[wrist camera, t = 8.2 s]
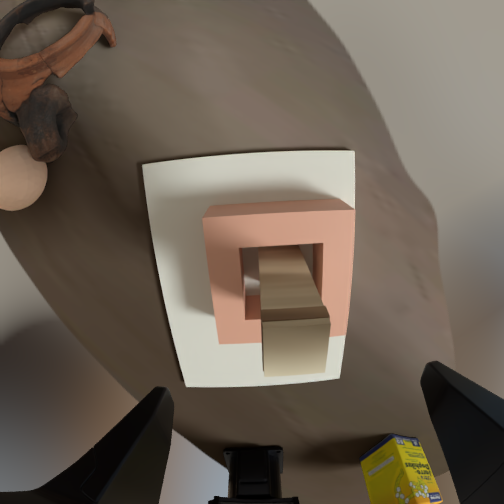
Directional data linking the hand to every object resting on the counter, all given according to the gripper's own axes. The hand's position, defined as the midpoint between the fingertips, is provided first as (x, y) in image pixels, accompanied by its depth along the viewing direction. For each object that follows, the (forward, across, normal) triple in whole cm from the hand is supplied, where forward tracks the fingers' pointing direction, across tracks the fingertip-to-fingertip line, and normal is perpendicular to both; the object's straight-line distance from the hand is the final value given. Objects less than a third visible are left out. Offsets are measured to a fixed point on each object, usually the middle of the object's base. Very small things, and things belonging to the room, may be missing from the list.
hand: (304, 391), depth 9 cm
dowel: (+11, 0, 0) cm, 11 cm away
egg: (+12, +17, -8) cm, 22 cm away
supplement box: (+12, -14, +27) cm, 33 cm away
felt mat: (+12, +2, +2) cm, 12 cm away
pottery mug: (+12, +14, -14) cm, 23 cm away
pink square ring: (+11, 0, 0) cm, 11 cm away
